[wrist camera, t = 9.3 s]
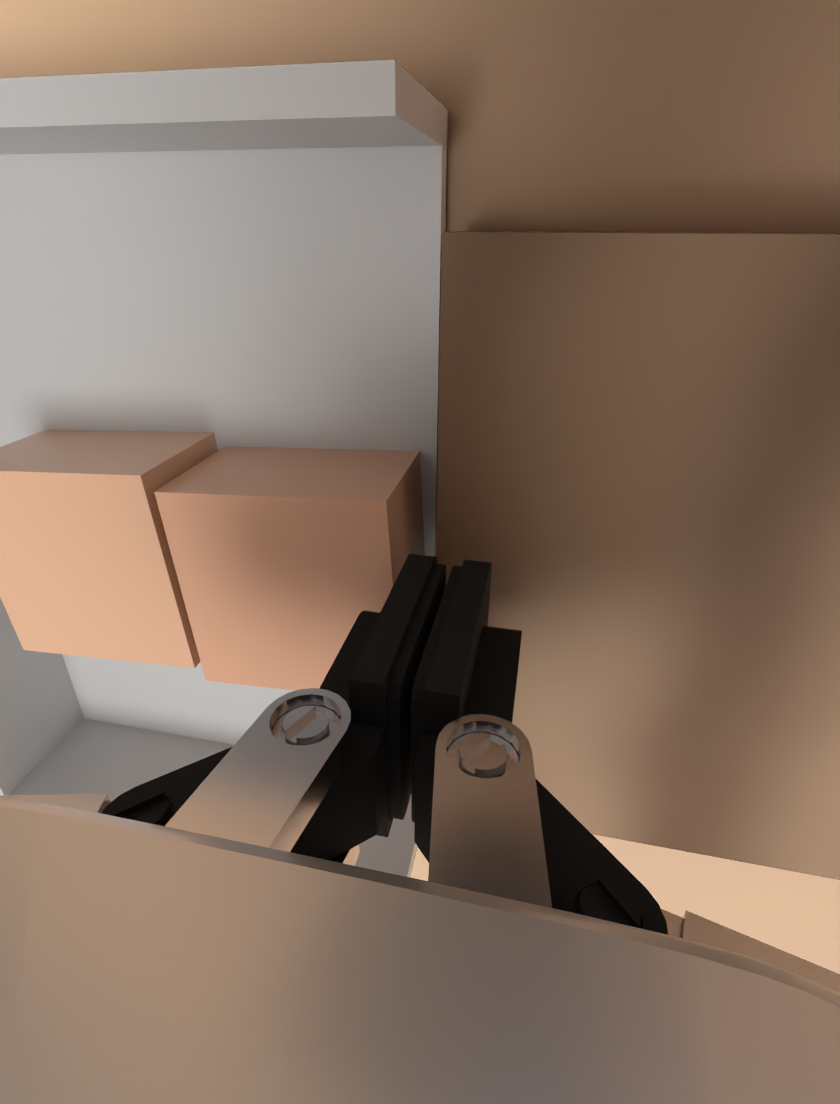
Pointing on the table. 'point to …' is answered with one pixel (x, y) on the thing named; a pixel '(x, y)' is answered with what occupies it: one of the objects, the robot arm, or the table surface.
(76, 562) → the tile
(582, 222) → the table surface
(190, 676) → the tray
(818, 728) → the board
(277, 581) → the tile
